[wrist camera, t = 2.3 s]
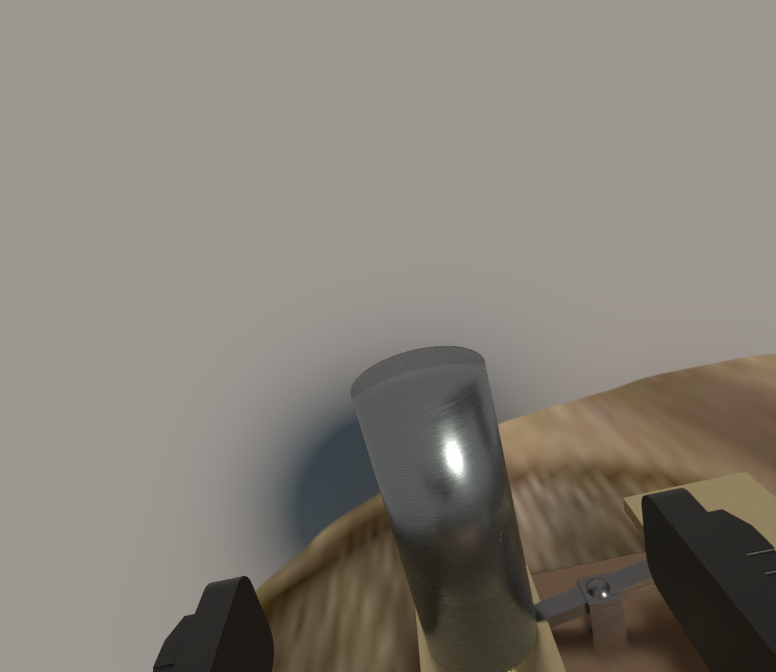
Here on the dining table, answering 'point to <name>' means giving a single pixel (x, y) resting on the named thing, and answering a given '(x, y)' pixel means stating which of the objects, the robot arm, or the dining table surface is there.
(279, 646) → the dining table surface
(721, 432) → the dining table surface
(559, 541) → the dining table surface
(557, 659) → the balance
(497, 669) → the tea canister
